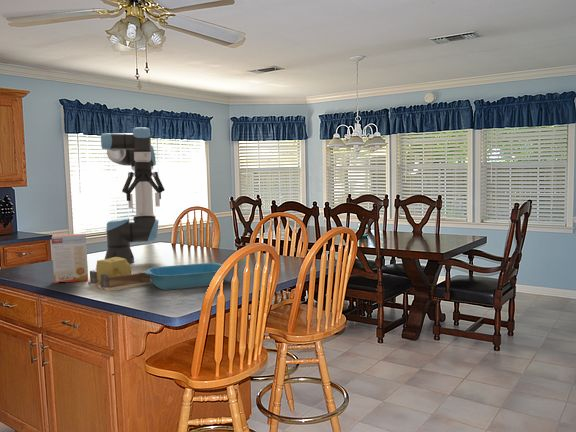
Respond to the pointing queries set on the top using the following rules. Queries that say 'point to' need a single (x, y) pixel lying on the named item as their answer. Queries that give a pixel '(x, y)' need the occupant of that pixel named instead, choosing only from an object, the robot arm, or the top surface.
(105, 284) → the slot board
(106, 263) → the cheese
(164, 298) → the top surface
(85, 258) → the cracker box
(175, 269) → the casserole dish
